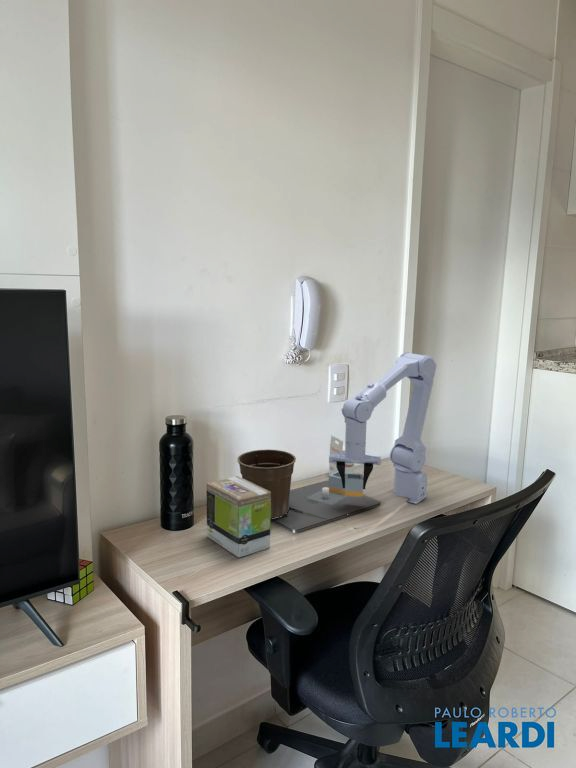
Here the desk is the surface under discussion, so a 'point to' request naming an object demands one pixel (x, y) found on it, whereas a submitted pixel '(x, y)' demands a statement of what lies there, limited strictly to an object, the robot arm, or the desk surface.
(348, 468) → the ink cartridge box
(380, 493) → the desk surface
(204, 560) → the desk surface
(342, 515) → the desk surface
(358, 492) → the loose sleeve
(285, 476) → the plant pot
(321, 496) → the peg board
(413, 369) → the robot arm
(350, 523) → the desk surface
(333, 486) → the seated sleeve
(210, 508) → the tea box
